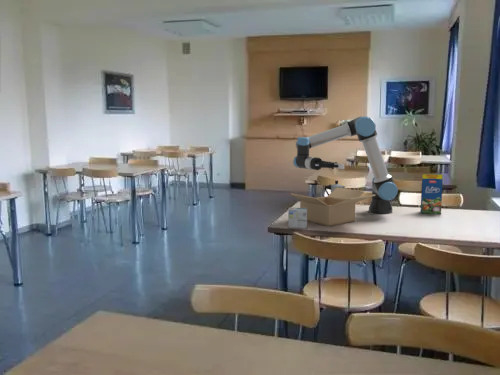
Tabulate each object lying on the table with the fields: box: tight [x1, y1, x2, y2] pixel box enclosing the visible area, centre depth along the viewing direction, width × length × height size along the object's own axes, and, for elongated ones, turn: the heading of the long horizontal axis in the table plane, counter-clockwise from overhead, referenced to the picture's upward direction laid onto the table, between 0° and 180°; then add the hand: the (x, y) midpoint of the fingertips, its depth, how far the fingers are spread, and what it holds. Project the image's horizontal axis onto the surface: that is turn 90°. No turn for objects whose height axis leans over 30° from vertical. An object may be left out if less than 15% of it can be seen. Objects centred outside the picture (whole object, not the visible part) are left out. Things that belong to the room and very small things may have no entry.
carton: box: [290, 187, 365, 228], centre depth 295 cm, size 25×40×17 cm, turn 127°
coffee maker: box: [323, 180, 346, 196], centre depth 341 cm, size 15×9×18 cm, turn 85°
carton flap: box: [330, 194, 375, 207], centre depth 278 cm, size 16×21×1 cm
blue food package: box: [420, 173, 443, 215], centre depth 316 cm, size 6×12×25 cm, turn 75°
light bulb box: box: [287, 207, 308, 229], centre depth 279 cm, size 11×7×11 cm, turn 84°
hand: (343, 166), depth 280 cm, fingers closed
